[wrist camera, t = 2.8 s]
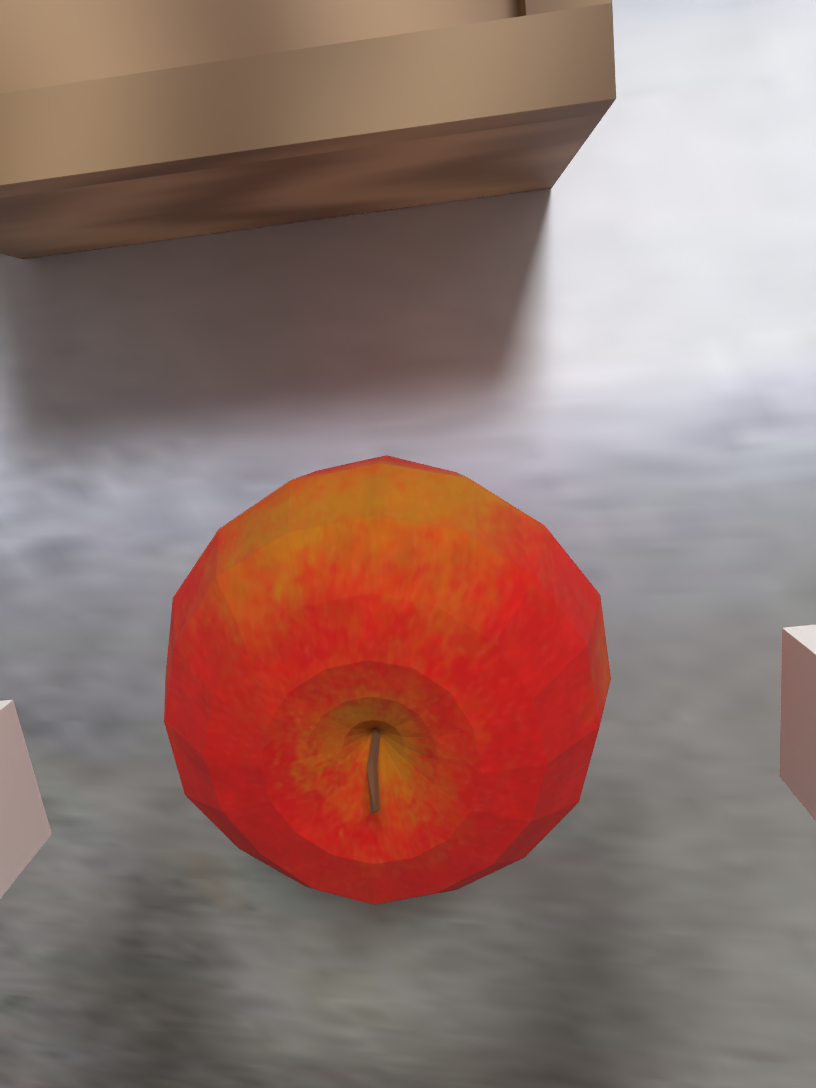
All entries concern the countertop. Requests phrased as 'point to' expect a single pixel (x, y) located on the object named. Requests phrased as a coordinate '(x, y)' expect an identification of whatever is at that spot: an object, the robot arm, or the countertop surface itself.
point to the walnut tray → (282, 110)
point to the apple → (385, 680)
